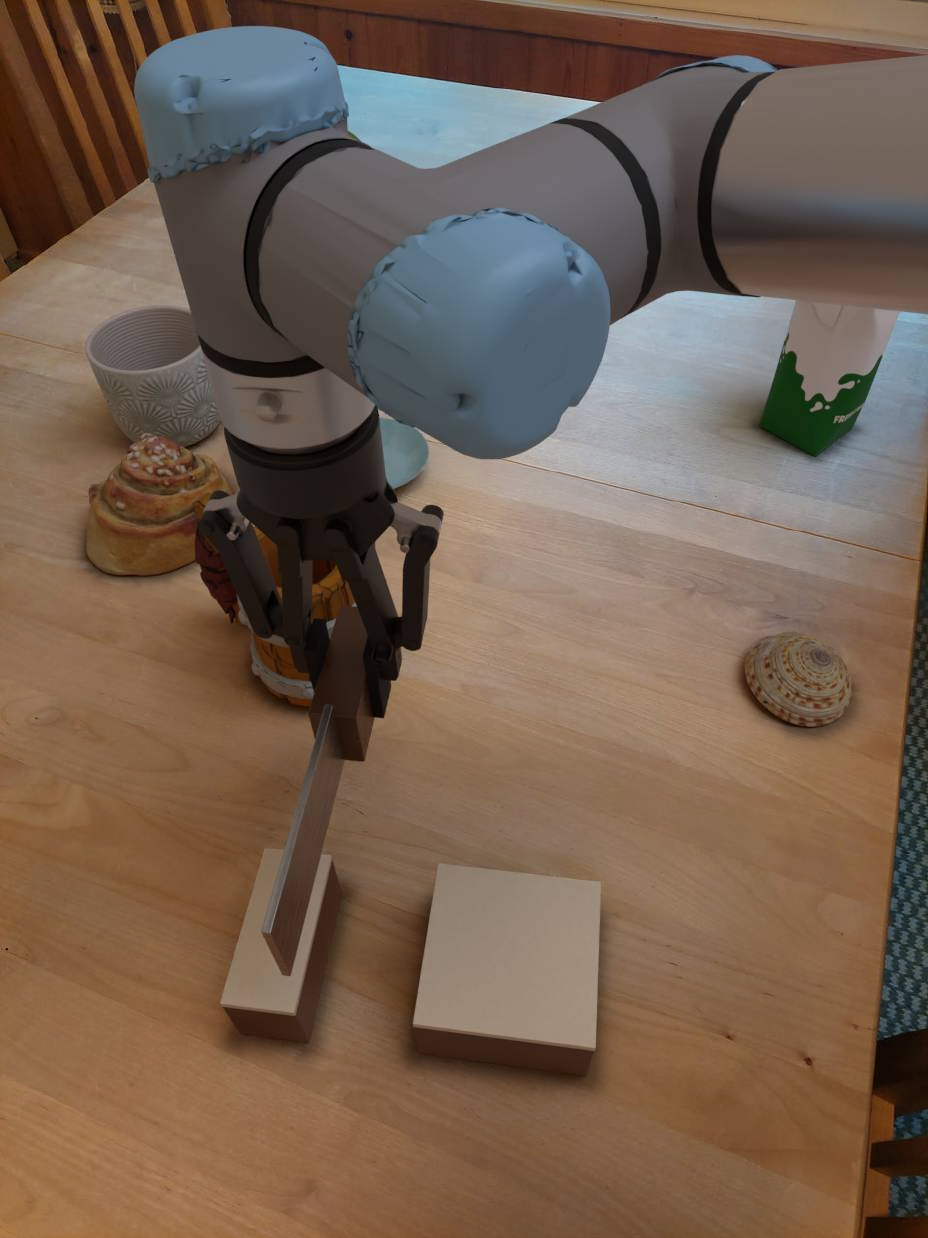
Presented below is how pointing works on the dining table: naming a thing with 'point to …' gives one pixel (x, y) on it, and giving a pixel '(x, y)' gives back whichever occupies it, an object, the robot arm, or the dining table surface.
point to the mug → (326, 596)
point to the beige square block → (510, 970)
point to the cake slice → (254, 978)
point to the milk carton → (825, 372)
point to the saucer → (402, 452)
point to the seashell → (798, 678)
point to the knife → (321, 780)
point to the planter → (154, 374)
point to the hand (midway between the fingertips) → (355, 698)
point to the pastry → (149, 508)
